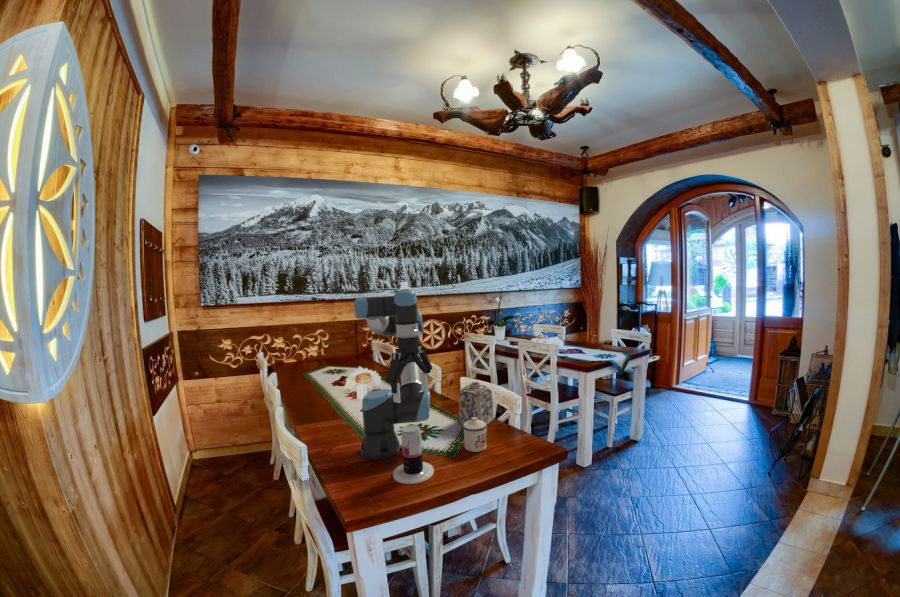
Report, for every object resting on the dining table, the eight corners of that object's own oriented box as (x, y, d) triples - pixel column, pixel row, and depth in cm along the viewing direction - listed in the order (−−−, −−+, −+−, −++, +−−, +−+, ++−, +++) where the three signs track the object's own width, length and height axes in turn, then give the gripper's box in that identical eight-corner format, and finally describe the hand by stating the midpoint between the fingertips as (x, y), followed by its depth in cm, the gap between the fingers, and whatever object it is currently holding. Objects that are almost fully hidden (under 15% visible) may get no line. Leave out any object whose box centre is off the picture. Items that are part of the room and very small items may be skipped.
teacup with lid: (477, 454, 139) (476, 424, 138) (459, 448, 145) (457, 419, 144) (496, 443, 148) (494, 414, 147) (478, 437, 154) (476, 409, 153)
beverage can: (407, 477, 124) (404, 433, 123) (401, 469, 130) (398, 427, 129) (425, 472, 127) (423, 429, 126) (419, 464, 133) (416, 423, 132)
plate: (385, 480, 124) (385, 478, 124) (404, 460, 137) (404, 459, 137) (423, 486, 119) (423, 484, 119) (439, 465, 133) (439, 463, 133)
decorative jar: (473, 415, 179) (471, 378, 178) (494, 420, 172) (492, 381, 171) (458, 424, 169) (456, 385, 168) (481, 429, 162) (478, 388, 161)
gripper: (387, 343, 116) (391, 409, 118) (439, 330, 135) (443, 388, 137) (372, 341, 121) (376, 405, 122) (424, 329, 140) (428, 385, 142)
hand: (411, 396), depth 130 cm, fingers open, 13 cm apart
